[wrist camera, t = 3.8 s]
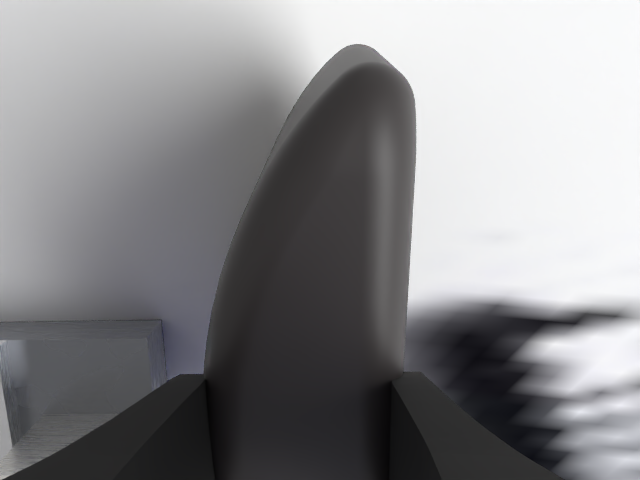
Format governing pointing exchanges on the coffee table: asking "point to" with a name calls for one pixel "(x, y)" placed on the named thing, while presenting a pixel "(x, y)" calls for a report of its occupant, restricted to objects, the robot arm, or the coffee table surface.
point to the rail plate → (70, 381)
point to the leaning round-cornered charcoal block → (318, 286)
